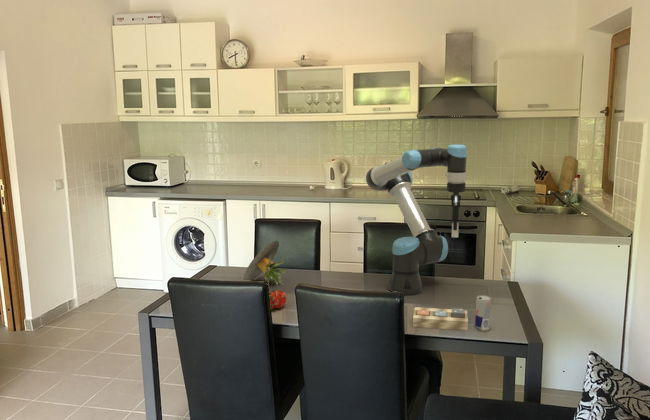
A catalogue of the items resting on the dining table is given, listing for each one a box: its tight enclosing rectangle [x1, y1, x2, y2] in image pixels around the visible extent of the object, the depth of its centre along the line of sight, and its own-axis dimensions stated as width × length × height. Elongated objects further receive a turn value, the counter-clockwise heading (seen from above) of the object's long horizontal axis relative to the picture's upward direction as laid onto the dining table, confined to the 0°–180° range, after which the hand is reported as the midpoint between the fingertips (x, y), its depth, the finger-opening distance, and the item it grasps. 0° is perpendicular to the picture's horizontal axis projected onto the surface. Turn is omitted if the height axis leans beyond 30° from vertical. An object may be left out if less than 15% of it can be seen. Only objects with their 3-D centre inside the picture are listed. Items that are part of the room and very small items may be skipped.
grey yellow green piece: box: [242, 240, 287, 286], centre depth 252 cm, size 25×18×25 cm
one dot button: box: [417, 310, 429, 316], centre depth 207 cm, size 4×4×3 cm
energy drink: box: [474, 294, 492, 332], centre depth 199 cm, size 5×5×12 cm
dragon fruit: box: [268, 289, 288, 310], centre depth 225 cm, size 8×8×12 cm
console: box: [412, 306, 469, 331], centre depth 206 cm, size 20×11×4 cm, turn 77°
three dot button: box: [434, 311, 447, 317], centre depth 206 cm, size 4×4×3 cm
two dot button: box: [451, 307, 465, 318], centre depth 204 cm, size 4×4×3 cm
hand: (454, 236), depth 229 cm, fingers closed
